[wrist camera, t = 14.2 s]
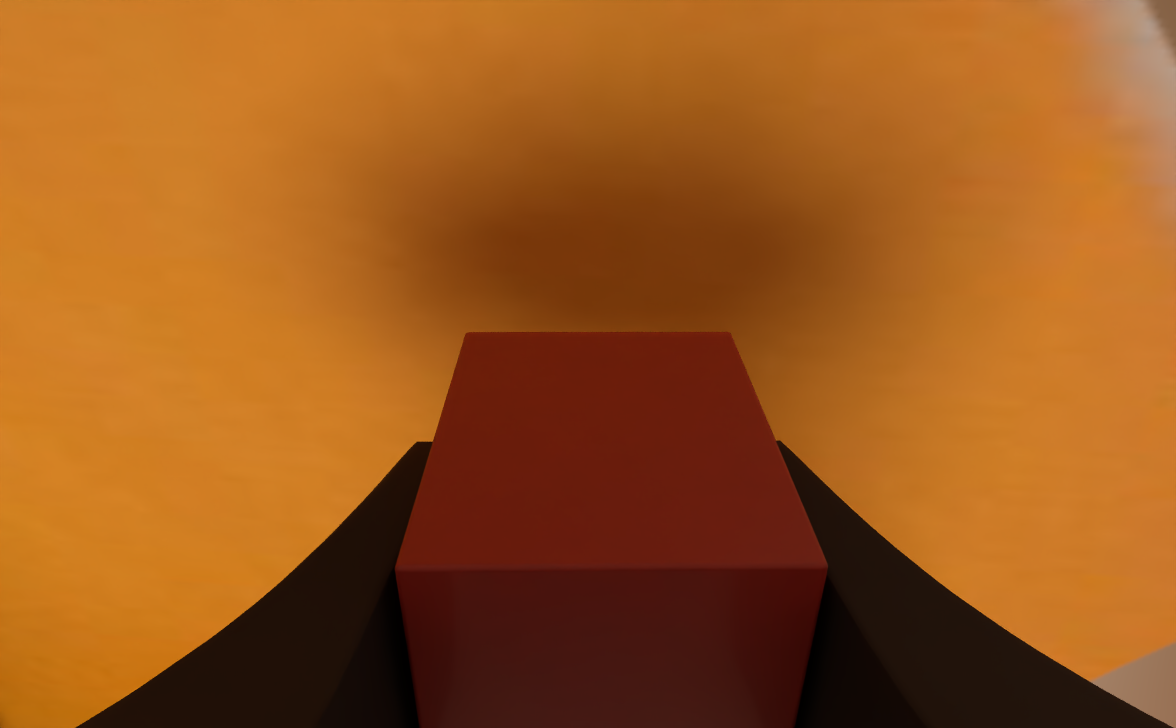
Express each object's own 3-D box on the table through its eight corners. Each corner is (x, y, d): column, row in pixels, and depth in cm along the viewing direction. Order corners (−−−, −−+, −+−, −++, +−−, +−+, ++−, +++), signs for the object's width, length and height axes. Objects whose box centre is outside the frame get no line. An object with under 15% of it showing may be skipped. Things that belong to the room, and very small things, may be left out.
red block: (731, 330, 11) (830, 566, 7) (709, 535, 13) (776, 823, 9) (465, 330, 11) (392, 568, 7) (481, 536, 13) (432, 828, 9)
